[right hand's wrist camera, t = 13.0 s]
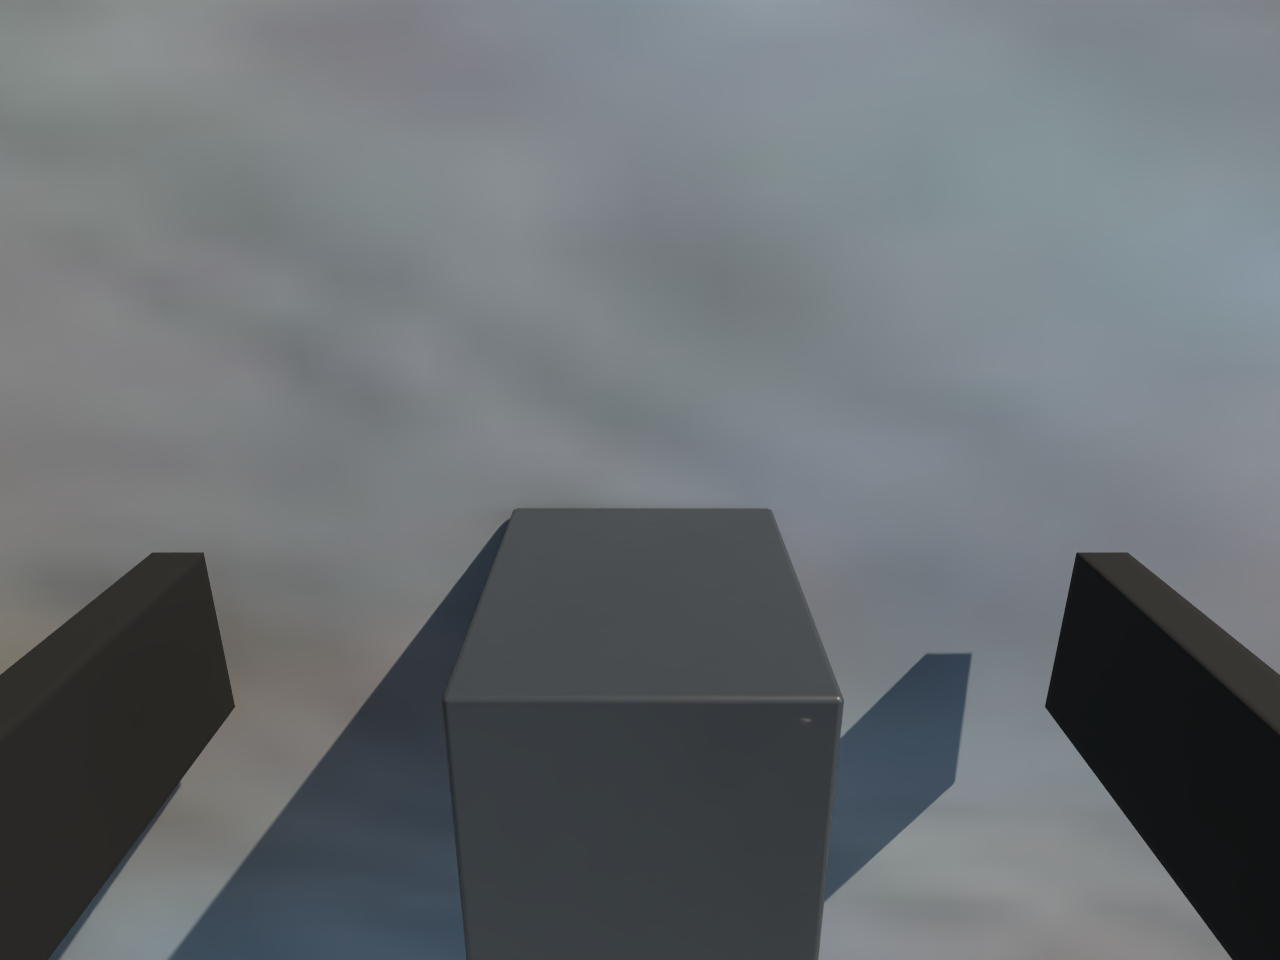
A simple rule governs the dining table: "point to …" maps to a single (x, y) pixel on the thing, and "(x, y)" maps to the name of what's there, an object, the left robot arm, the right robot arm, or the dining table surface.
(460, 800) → the charcoal block
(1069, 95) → the dining table surface
